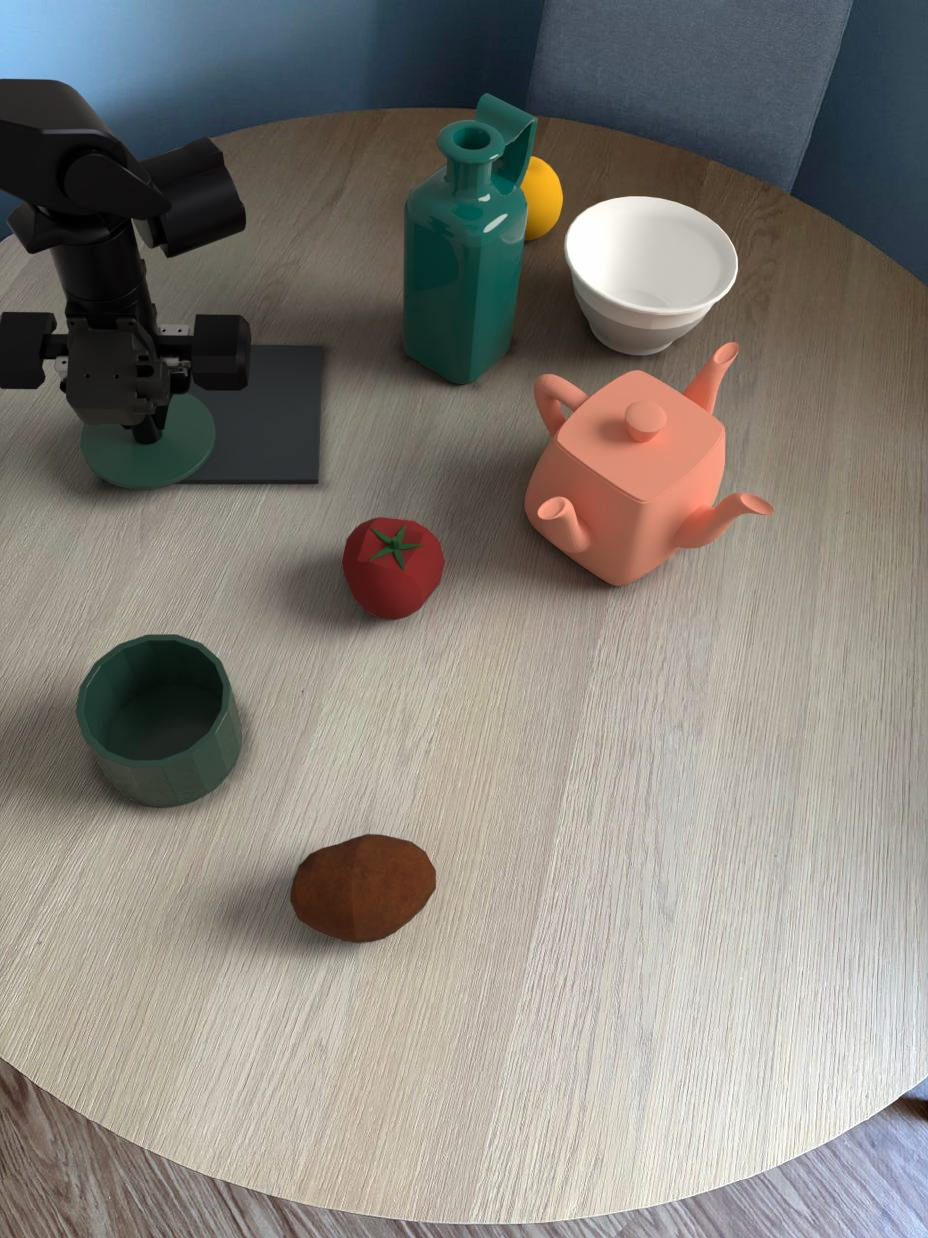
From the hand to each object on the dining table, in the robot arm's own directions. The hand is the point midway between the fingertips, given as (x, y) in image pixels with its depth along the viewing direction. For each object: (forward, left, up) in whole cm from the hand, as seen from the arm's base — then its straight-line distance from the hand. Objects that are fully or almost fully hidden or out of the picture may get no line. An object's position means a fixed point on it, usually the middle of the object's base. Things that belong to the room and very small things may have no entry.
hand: (145, 425), depth 87 cm
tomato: (+20, -14, -4) cm, 25 cm away
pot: (+40, -7, -4) cm, 41 cm away
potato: (+18, -39, -4) cm, 43 cm away
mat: (+5, +5, -4) cm, 8 cm away
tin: (+4, -27, -4) cm, 28 cm away
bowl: (+44, +17, -4) cm, 47 cm away
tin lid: (0, 0, -2) cm, 2 cm away
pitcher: (+27, +14, -4) cm, 31 cm away
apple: (+34, +31, -4) cm, 46 cm away
